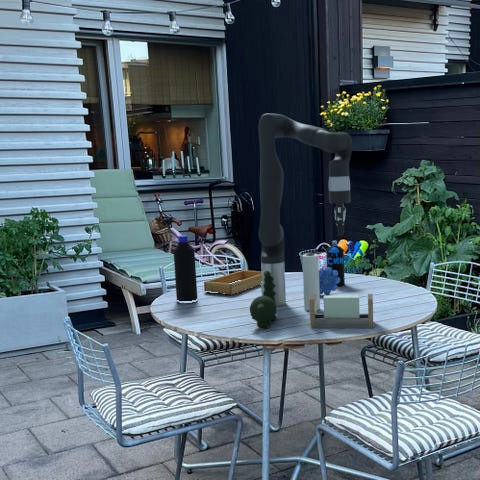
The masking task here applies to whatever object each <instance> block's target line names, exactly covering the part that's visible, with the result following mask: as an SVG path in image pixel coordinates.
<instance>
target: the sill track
mask: <svg viewBox="0 0 480 480" xmlns="http://www.w3.org/2000/svg"><path fill="white" fill-rule="evenodd" d="M367 307H368V309H367V313H360V318H324V313H318V312H317V311H318V310H317V308H316V294H311V297H310V311H309V319H310V320H309V321H310V328H311V329H374V297H373V293H367Z"/></svg>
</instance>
